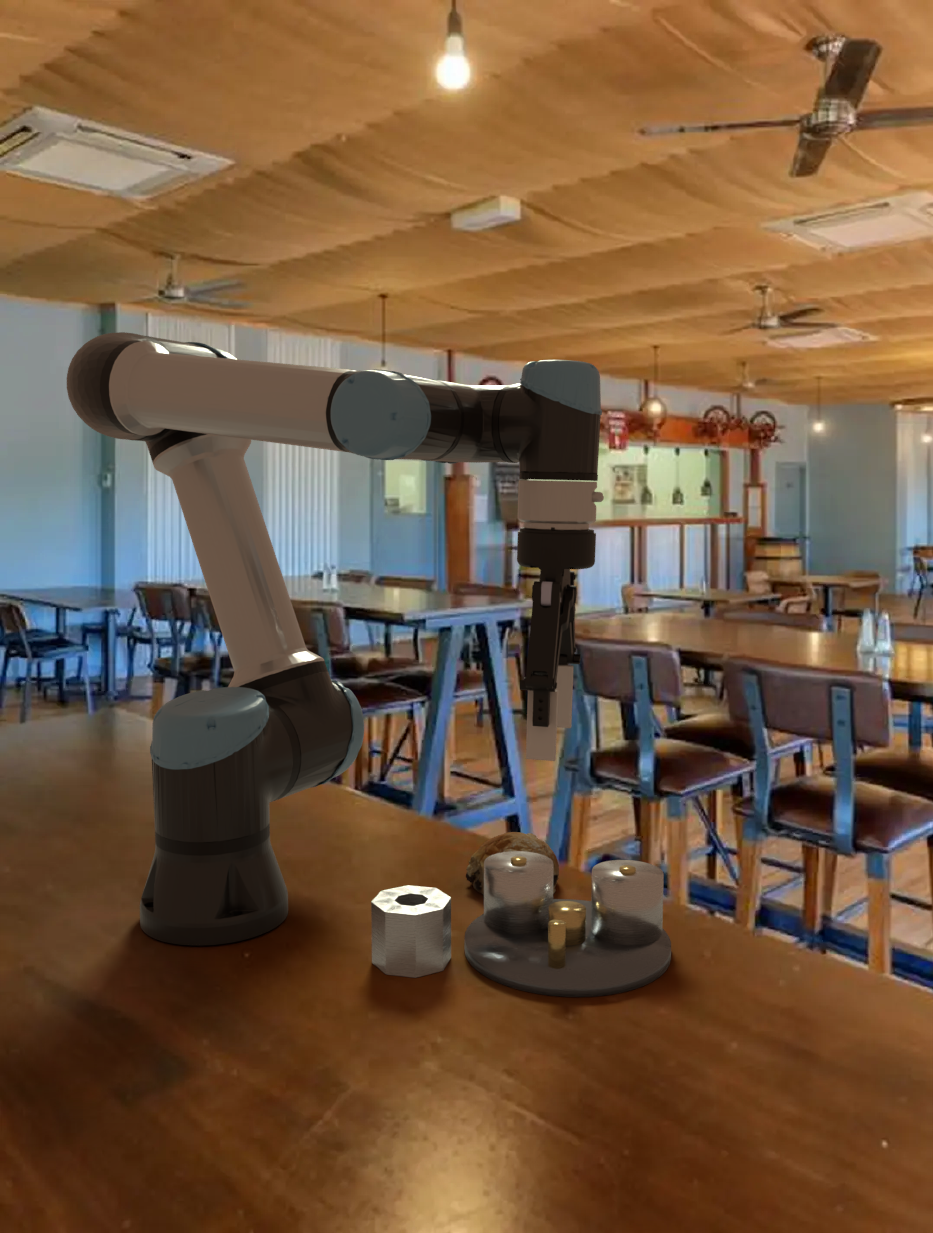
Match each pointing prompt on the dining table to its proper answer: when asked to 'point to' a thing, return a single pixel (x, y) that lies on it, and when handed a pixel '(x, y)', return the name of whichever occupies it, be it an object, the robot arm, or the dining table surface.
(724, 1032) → the dining table surface
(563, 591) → the robot arm
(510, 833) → the bread roll
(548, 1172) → the dining table surface
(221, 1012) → the dining table surface
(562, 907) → the carrier
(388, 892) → the octagonal metal nut
